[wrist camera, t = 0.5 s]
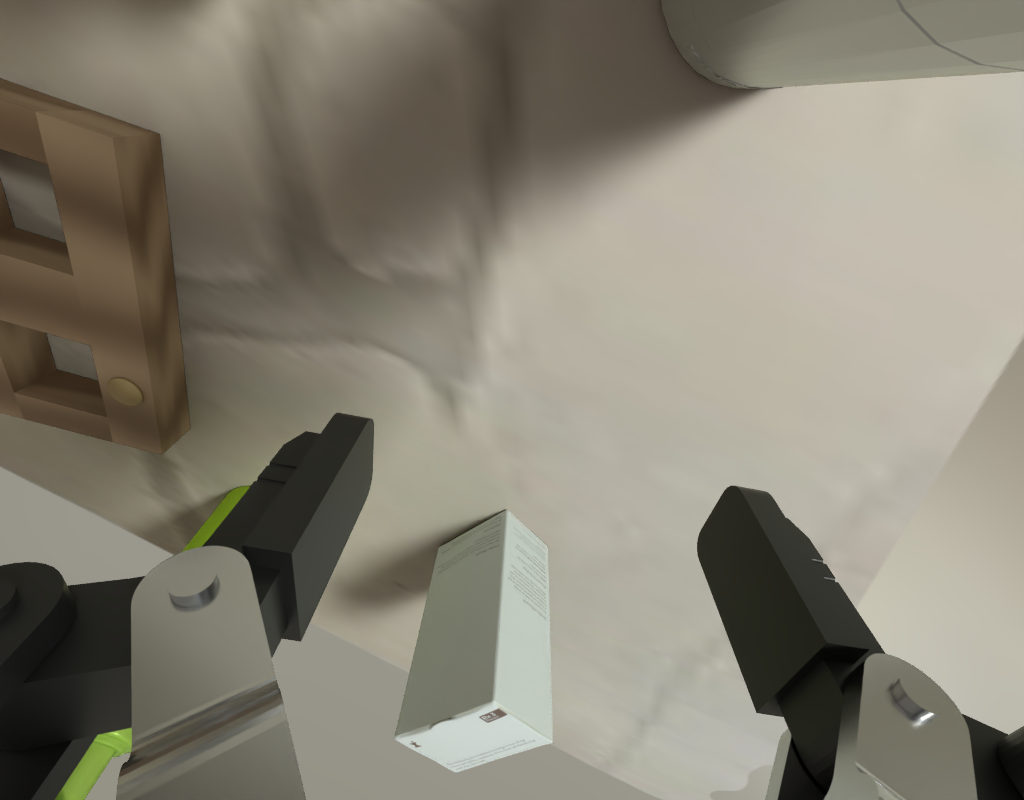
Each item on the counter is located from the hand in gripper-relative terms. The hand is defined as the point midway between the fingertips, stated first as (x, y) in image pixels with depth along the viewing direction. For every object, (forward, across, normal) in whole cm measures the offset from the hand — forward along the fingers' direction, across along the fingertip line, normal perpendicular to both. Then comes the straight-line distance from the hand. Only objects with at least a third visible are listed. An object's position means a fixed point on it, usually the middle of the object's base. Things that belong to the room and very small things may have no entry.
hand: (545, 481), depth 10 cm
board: (+18, +28, +6) cm, 34 cm away
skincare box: (+19, -1, +24) cm, 31 cm away
